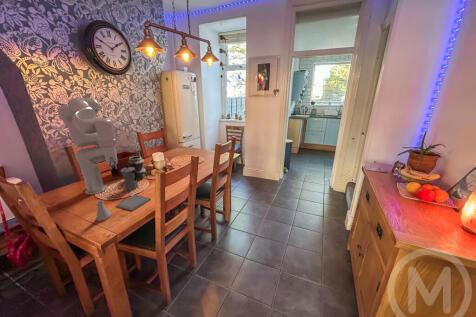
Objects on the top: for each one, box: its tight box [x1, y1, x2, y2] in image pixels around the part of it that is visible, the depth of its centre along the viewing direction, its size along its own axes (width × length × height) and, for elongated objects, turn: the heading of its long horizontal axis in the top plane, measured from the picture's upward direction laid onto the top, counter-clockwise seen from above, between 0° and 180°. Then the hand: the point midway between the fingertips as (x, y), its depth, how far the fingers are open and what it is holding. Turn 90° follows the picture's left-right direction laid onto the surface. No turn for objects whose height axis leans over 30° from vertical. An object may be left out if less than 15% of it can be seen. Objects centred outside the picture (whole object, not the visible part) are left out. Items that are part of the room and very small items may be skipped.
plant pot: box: [108, 150, 140, 177], centre depth 159 cm, size 19×19×17 cm
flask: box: [95, 200, 112, 222], centre depth 100 cm, size 7×7×10 cm
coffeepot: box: [120, 166, 139, 192], centre depth 132 cm, size 15×9×18 cm, turn 64°
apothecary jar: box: [128, 155, 147, 181], centre depth 150 cm, size 12×12×18 cm
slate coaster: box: [115, 194, 152, 212], centre depth 116 cm, size 14×14×1 cm
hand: (115, 172), depth 101 cm, fingers open, 9 cm apart
